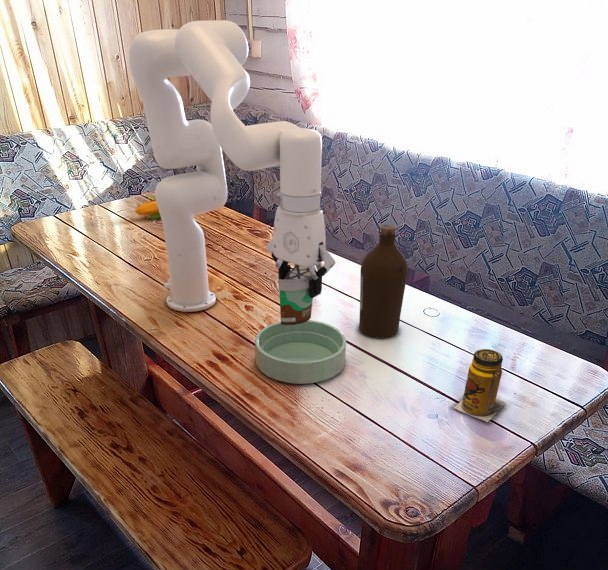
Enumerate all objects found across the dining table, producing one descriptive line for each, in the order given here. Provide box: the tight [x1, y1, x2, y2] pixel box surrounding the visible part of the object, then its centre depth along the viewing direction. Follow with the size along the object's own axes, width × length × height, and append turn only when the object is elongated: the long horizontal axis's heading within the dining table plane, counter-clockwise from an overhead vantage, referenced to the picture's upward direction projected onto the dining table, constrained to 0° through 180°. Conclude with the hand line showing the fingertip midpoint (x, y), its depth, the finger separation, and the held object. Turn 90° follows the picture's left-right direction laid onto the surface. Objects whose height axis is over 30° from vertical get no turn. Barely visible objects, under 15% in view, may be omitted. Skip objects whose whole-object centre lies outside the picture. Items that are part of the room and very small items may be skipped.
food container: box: [278, 264, 314, 325], centre depth 121 cm, size 12×6×10 cm, turn 165°
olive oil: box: [358, 224, 409, 339], centre depth 136 cm, size 11×11×25 cm
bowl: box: [254, 319, 347, 385], centre depth 128 cm, size 19×19×6 cm
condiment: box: [453, 348, 507, 423], centre depth 113 cm, size 7×8×12 cm
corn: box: [134, 195, 161, 220], centre depth 210 cm, size 7×8×20 cm
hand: (299, 289), depth 120 cm, fingers closed on food container, 7 cm apart
